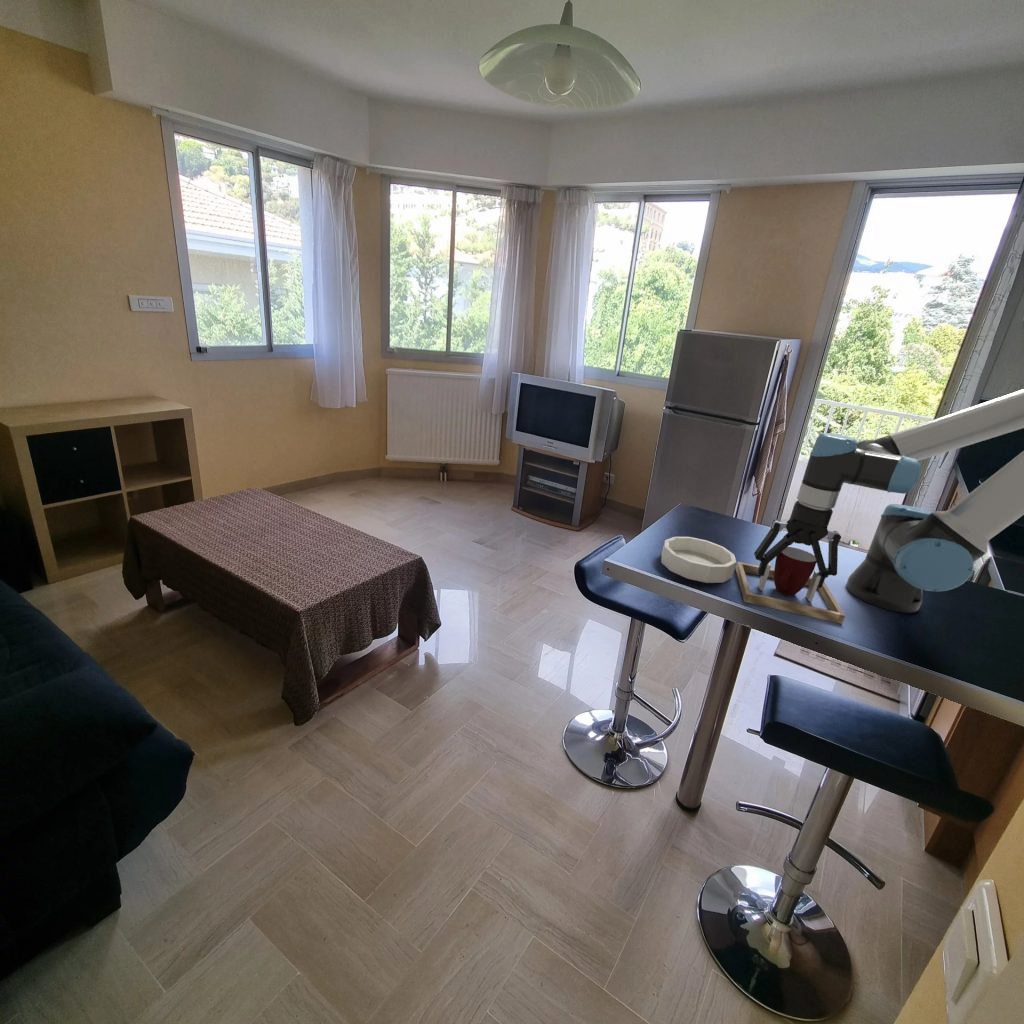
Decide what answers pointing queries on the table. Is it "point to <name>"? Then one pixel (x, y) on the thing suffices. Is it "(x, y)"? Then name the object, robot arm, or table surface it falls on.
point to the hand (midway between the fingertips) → (784, 593)
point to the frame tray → (830, 615)
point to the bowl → (698, 559)
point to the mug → (793, 570)
